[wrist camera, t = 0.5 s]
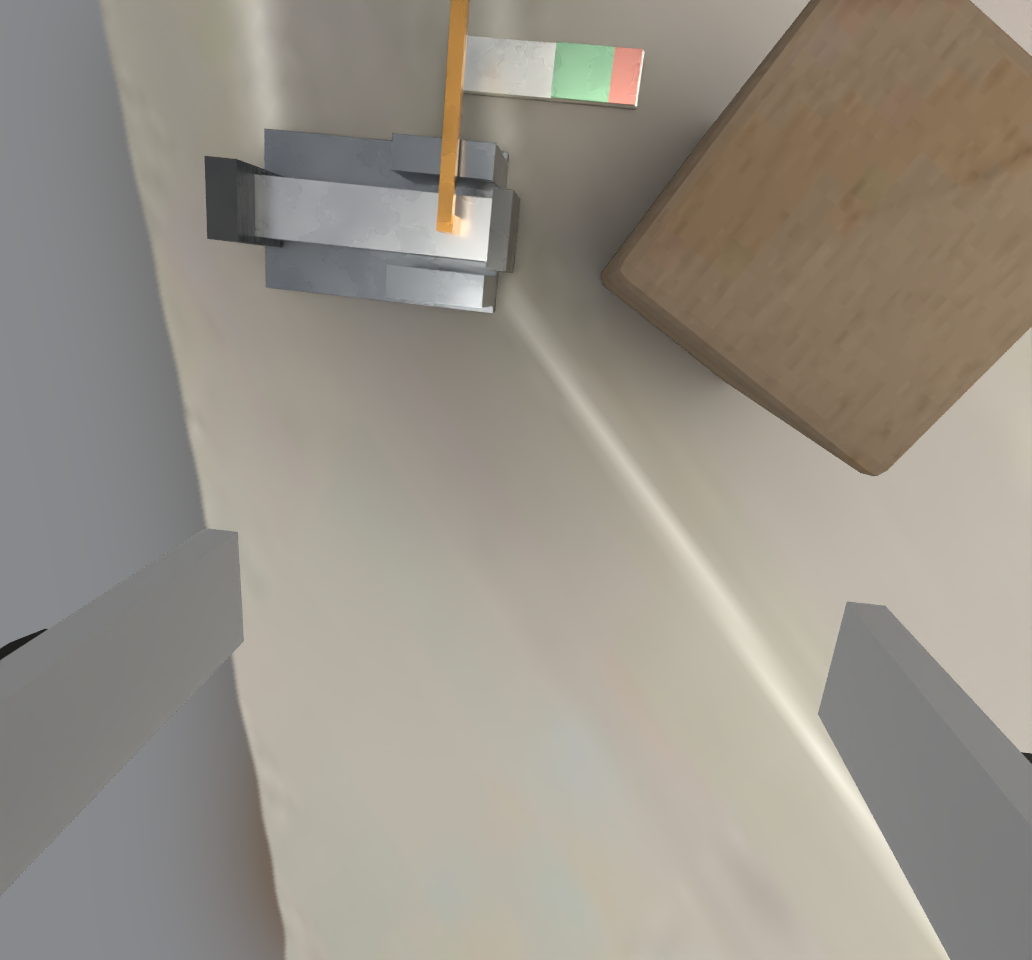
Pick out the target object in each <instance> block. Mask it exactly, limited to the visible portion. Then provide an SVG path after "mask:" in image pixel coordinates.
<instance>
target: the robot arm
mask: <svg viewBox="0 0 1032 960" xmlns="http://www.w3.org/2000/svg"><path fill="white" fill-rule="evenodd" d="M243 641H244V636H243V618H242V600H241V582H240V564H239V547H238V532H233V531H224V530H216V529H207V528H205V529H203V530H202V531H200V532H198V533H197V534H195V535H193V536H192V537H191V538H189V539H187V540H186V541H185V542H183V543H181V544H180V545H178V546H176V547H175V548H173V549H172V550H170V551H169V552H167V553H166V554H164V555H163V556H161V557H159V558H158V559H156V560H155V561H153V562H152V563H150V564H149V565H147V566H145V567H144V568H142V569H141V570H139V571H138V572H136V573H135V574H133V575H132V576H130V577H129V578H127V579H125V580H124V581H123V582H121V583H119V584H118V585H116V586H115V587H113V588H112V589H110V590H108V591H107V592H105V593H104V594H102V595H101V596H99V597H98V598H96V599H95V600H93V601H91V602H90V603H88V604H87V605H85V606H83V607H82V608H80V609H79V610H78V611H76V612H74V613H73V614H71V615H70V616H68V617H66V618H65V619H63V620H62V621H60V622H59V623H57V624H56V625H54V626H53V627H51V628H49V629H44V630H41V631H38V632H36V633H33V634H31V635H28V636H26V637H23V638H20V639H18V640H15V641H13V642H10V643H9V644H7V645H6V646H4V647H2V648H1V649H0V896H1V895H2V894H3V893H4V892H5V891H6V890H7V889H8V888H9V887H10V886H11V884H13V883H14V881H15V880H16V879H17V878H18V877H19V876H20V875H21V874H22V873H23V872H24V871H25V870H26V869H27V868H28V866H30V865H31V864H32V863H33V862H34V860H35V859H36V858H37V857H38V856H39V855H40V854H41V853H42V852H43V851H44V850H45V849H46V848H47V847H48V846H49V845H50V843H52V842H53V841H54V839H55V838H56V837H57V836H58V835H59V834H60V833H61V832H62V831H63V830H64V829H65V828H66V827H67V826H68V825H69V824H70V823H71V822H72V821H73V820H74V819H75V817H76V816H77V815H78V814H79V813H80V812H81V811H82V810H83V809H84V808H85V807H86V806H87V805H88V804H89V803H90V802H91V801H92V800H93V798H95V796H96V795H97V794H98V793H99V792H100V791H101V790H102V789H103V788H104V787H105V786H106V785H107V784H108V783H109V782H110V781H111V779H113V778H114V777H115V776H116V774H117V773H118V772H119V771H120V770H121V769H122V768H123V767H124V766H125V765H126V764H127V763H128V762H129V761H130V759H132V758H133V757H134V755H136V753H137V752H138V751H139V750H140V749H141V748H142V747H143V746H144V745H145V744H146V743H147V742H148V741H149V740H150V739H151V738H152V737H153V736H154V735H155V733H156V732H157V731H158V730H159V729H160V728H161V727H162V726H163V725H164V724H165V723H166V722H167V721H168V720H169V719H170V718H171V717H172V716H173V715H174V713H175V712H177V710H178V709H179V708H180V707H181V706H182V705H183V704H184V703H185V702H186V701H187V700H188V699H189V698H190V697H191V696H192V695H193V694H194V693H195V691H197V689H198V688H199V687H200V686H201V685H202V684H203V683H204V682H205V681H206V680H207V679H208V678H209V677H210V676H211V675H212V674H213V673H214V672H215V671H216V670H217V669H218V667H219V666H220V665H221V664H222V663H223V662H224V661H225V660H226V659H227V658H228V657H229V656H230V655H231V654H232V653H233V652H234V651H235V650H236V649H237V648H238V646H239V645H240V644H241V643H242V642H243ZM818 715H819V717H820V719H821V720H822V722H823V724H824V726H825V728H826V730H827V732H828V733H829V735H830V737H831V739H832V741H833V743H834V745H835V746H836V748H837V750H838V752H839V754H840V756H841V757H842V759H843V761H844V763H845V765H846V767H847V769H848V770H849V772H850V774H851V776H852V778H853V780H854V782H855V783H856V785H857V787H858V789H859V791H860V793H861V795H862V796H863V798H864V800H865V802H866V804H867V806H868V808H869V809H870V811H871V813H872V815H873V817H874V819H875V821H876V822H877V824H878V826H879V828H880V830H881V832H882V834H883V835H884V837H885V839H886V841H887V843H888V845H889V847H890V848H891V850H892V852H893V854H894V856H895V858H896V860H897V861H898V863H899V865H900V867H901V869H902V871H903V873H904V874H905V876H906V878H907V880H908V882H909V884H910V886H911V887H912V889H913V891H914V893H915V895H916V897H917V899H918V900H919V902H920V904H921V906H922V908H923V910H924V912H925V913H926V915H927V917H928V919H929V921H930V923H931V925H932V926H933V928H934V930H935V932H936V934H937V936H938V938H939V939H940V941H941V943H942V945H943V947H944V949H945V951H946V952H947V954H948V956H949V958H950V960H1032V754H1031V753H1023V752H1020V751H1019V750H1018V749H1017V748H1016V747H1015V745H1014V744H1013V743H1012V742H1011V741H1010V740H1009V739H1008V738H1007V737H1006V736H1005V735H1004V734H1003V733H1002V731H1001V730H1000V729H999V728H998V727H997V726H996V725H995V724H994V723H993V722H992V721H991V720H990V718H989V717H988V716H987V715H986V714H985V713H984V712H983V711H982V710H981V709H980V708H979V707H978V706H977V704H976V703H975V702H974V701H973V700H972V699H971V698H970V697H969V696H968V695H967V694H966V693H965V692H964V690H963V689H962V688H961V687H960V686H959V685H958V684H957V683H956V682H955V681H954V680H953V679H952V677H951V676H950V675H949V674H948V673H947V672H946V671H945V670H944V669H943V668H942V667H941V666H940V665H939V663H938V662H937V661H936V660H935V659H934V658H933V657H932V656H931V655H930V654H929V653H928V652H927V650H926V649H925V648H924V647H923V646H922V645H921V644H920V643H919V642H918V641H917V640H916V639H915V638H914V636H913V635H912V634H911V633H910V632H909V631H908V630H907V629H906V628H905V627H904V626H903V625H902V624H901V622H900V621H899V620H898V619H897V618H896V617H895V616H894V615H893V614H892V613H891V612H890V611H889V609H888V608H887V607H886V606H881V605H873V604H864V603H855V602H847V603H846V607H845V611H844V615H843V619H842V623H841V627H840V630H839V634H838V638H837V642H836V646H835V650H834V654H833V658H832V662H831V666H830V669H829V673H828V677H827V681H826V685H825V689H824V693H823V697H822V701H821V705H820V708H819V712H818Z"/></svg>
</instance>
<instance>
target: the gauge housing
mask: <svg viewBox="0 0 1032 960" xmlns="http://www.w3.org/2000/svg"><path fill="white" fill-rule="evenodd" d="M643 58H644V51H643V49H634V48H622V47H610V46H599V45H587V44H575V43H564V42H556V43H547V42H536V41H524V40H512V39H501V38H489V37H477V36H467V46H466V60H465V74H464V88H463V93H467V94H478V95H489V96H500V97H511V98H522V99H533V100H544V101H555V102H565V103H576V104H587V105H598V106H609V107H620V108H631V109H636V107H637V100H638V93H639V86H640V79H641V72H642V65H643ZM441 150H442V138H437V137H427V136H416V135H406V134H395V133H393V134H392V141H386V140H375V139H365V138H355V137H345V136H334V135H324V134H314V133H304V132H293V131H283V130H273V129H265V170H267V171H270V172H273V173H275V174H278V175H281V177H286V178H295V179H305V180H315V181H325V182H334V183H344V184H354V185H364V186H374V187H383V188H393V189H403V190H413V191H422V192H432V193H439V181H440V166H441ZM508 159H509V155H508V153H507V152H501V151H500V149H499V148H498V146H497V144H496V143H489V142H478V141H468V140H460V144H459V158H458V172H457V186H456V195H462V196H471V197H481V198H491V199H492V195H493V188H499V189H506V181H507V170H508ZM486 264H487V263H486V262H477V261H468V260H459V259H450V258H441V257H431V256H422V255H413V254H404V253H395V252H386V251H376V250H367V249H358V248H349V247H340V246H330V245H321V244H312V243H303V242H294V241H285V240H281V248H280V247H271V246H266V287H268V288H277V289H286V290H295V291H303V292H312V293H321V294H330V295H338V296H347V297H356V298H365V299H374V300H382V301H391V302H400V303H409V304H417V305H426V306H435V307H444V308H452V309H461V310H470V311H479V312H487V313H494V310H495V300H496V289H497V278H498V271H492V270H487V269H486Z"/></svg>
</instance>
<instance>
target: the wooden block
mask: <svg viewBox="0 0 1032 960" xmlns="http://www.w3.org/2000/svg"><path fill="white" fill-rule="evenodd" d="M600 280H601V281H602V283H603V285H604V286H605V287H606V288H608V289H609V290H610V291H611V292H613V293H614V294H615V295H617V296H618V297H619V298H620V299H622V300H623V301H624V302H625V303H627V304H628V305H629V306H630V307H632V308H633V309H634V310H635V311H637V312H638V313H639V314H640V315H642V316H643V317H644V318H646V319H647V320H648V321H649V322H651V323H652V324H653V325H654V326H656V327H657V328H658V329H659V330H661V331H662V332H663V333H664V334H666V335H667V336H668V337H669V338H671V339H672V340H673V341H675V342H676V343H677V344H678V345H680V346H681V347H682V348H683V349H685V350H686V351H687V352H688V353H690V354H691V355H692V356H693V357H695V358H696V359H697V360H698V361H700V362H701V363H702V364H704V365H705V366H706V367H707V368H709V369H710V370H711V371H712V372H714V373H715V374H716V375H717V376H719V377H720V378H721V379H722V380H724V381H725V382H726V383H728V384H729V385H731V386H732V387H734V388H735V389H737V390H738V391H740V392H741V393H743V394H744V395H746V396H747V397H749V398H750V399H751V400H753V401H754V402H756V403H757V404H759V405H760V406H762V407H763V408H765V409H766V410H768V411H769V412H771V413H772V414H774V415H775V416H777V417H778V418H780V419H781V420H783V421H784V422H786V423H787V424H789V425H790V426H792V427H793V428H795V429H796V430H798V431H799V432H801V433H802V434H803V435H805V436H806V437H808V438H809V439H811V440H812V441H814V442H815V443H817V444H818V445H820V446H821V447H823V448H824V449H826V450H827V451H829V452H830V453H832V454H833V455H835V456H836V457H838V458H839V459H841V460H842V461H844V462H845V463H847V464H848V465H850V466H851V467H853V468H854V469H855V470H857V471H858V472H860V473H863V474H867V475H871V476H878V475H880V474H881V473H883V472H885V471H887V470H888V469H889V468H890V467H891V466H892V465H893V464H894V463H895V462H896V461H897V460H898V459H899V458H900V457H901V456H902V455H903V454H904V453H905V452H906V451H907V450H908V449H909V448H910V447H911V446H912V445H913V444H914V443H915V442H916V441H917V440H918V439H919V438H920V437H921V436H922V435H923V434H924V433H925V432H926V431H927V430H928V429H929V428H930V427H931V426H932V425H933V424H934V423H935V422H936V421H937V420H938V419H939V418H940V417H941V416H942V415H943V414H944V413H945V412H946V411H947V410H948V409H949V408H950V407H951V406H952V405H953V404H954V403H955V402H956V401H957V400H958V399H959V398H960V397H961V396H962V395H963V394H964V393H965V392H966V391H967V390H968V389H969V388H970V387H971V386H972V385H973V384H974V383H975V382H976V381H977V380H978V379H979V378H980V377H981V376H982V375H983V374H984V373H985V372H986V371H987V370H988V369H989V368H990V367H991V366H992V365H993V364H994V363H995V362H996V361H997V360H998V359H999V358H1000V357H1001V356H1002V355H1003V354H1004V353H1005V352H1006V351H1007V350H1008V349H1009V348H1010V347H1011V346H1012V345H1013V344H1014V343H1015V342H1016V341H1017V340H1018V339H1019V338H1020V337H1021V336H1022V335H1023V334H1024V333H1025V332H1026V331H1027V330H1028V329H1029V328H1030V327H1031V326H1032V56H1031V55H1030V54H1028V53H1027V52H1026V51H1025V50H1024V49H1023V48H1022V47H1021V46H1020V45H1019V44H1017V43H1016V42H1015V41H1014V40H1013V39H1012V38H1011V37H1010V36H1009V35H1007V34H1006V33H1005V32H1004V31H1003V30H1002V29H1001V28H1000V27H999V26H998V25H996V24H995V23H994V22H993V21H992V20H991V19H990V18H989V17H988V16H987V15H985V14H984V13H983V12H982V11H981V10H980V9H979V8H978V7H977V6H975V5H974V4H973V3H972V2H971V1H970V0H811V1H810V2H809V3H808V4H807V6H806V7H805V8H804V9H803V11H802V12H801V13H800V15H799V16H798V17H797V18H796V20H795V21H794V22H793V23H792V25H791V26H790V27H789V29H788V30H787V31H786V32H785V34H784V35H783V36H782V37H781V39H780V40H779V41H778V42H777V44H776V45H775V46H774V48H773V49H772V50H771V51H770V53H769V54H768V55H767V56H766V58H765V59H764V60H763V61H762V63H761V64H760V65H759V67H758V68H757V69H756V70H755V72H754V73H753V74H752V75H751V77H750V78H749V79H748V80H747V82H746V83H745V84H744V86H743V87H742V88H741V89H740V91H739V92H738V93H737V94H736V96H735V97H734V98H733V99H732V101H731V102H730V103H729V105H728V106H727V107H726V108H725V110H724V111H723V112H722V113H721V115H720V116H719V117H718V119H717V120H716V121H715V122H714V124H713V125H712V126H711V127H710V129H709V130H708V131H707V133H706V134H705V135H704V137H703V138H702V139H701V141H700V142H699V143H698V145H697V146H696V147H695V149H694V150H693V151H692V153H691V154H690V155H689V157H688V158H687V160H686V161H685V162H684V164H683V165H682V166H681V168H680V169H679V170H678V172H677V173H676V174H675V176H674V177H673V178H672V180H671V181H670V182H669V184H668V185H667V186H666V188H665V189H664V190H663V192H662V193H661V194H660V196H659V197H658V198H657V200H656V201H655V202H654V204H653V205H652V206H651V208H650V209H649V210H648V212H647V213H646V214H645V216H644V217H643V218H642V220H641V221H640V222H639V224H638V225H637V226H636V228H635V229H634V230H633V232H632V233H631V234H630V236H629V237H628V238H627V240H626V241H625V242H624V244H623V245H622V246H621V248H620V249H619V250H618V252H617V253H616V254H615V256H614V257H613V258H612V260H611V261H610V262H609V264H608V265H607V266H606V268H605V269H604V270H603V272H602V274H601V278H600Z"/></svg>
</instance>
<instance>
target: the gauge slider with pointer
mask: <svg viewBox="0 0 1032 960" xmlns="http://www.w3.org/2000/svg"><path fill="white" fill-rule="evenodd" d="M469 4H470V0H451V11H450V26H449V42H448V57H447V73H446V88H445V104H444V119H443V135H442V150H441V166H440V181H439V193H432V192H422V191H413V190H403V189H393V188H383V187H374V186H364V185H354V184H344V183H334V182H325V181H315V180H305V179H295V178H286V177H281V175H278V174H275V173H273V172H270V171H267V170H264V169H262V168H259V167H256V166H253V165H251V164H248V163H245V162H243V161H240V160H237V159H229V158H220V157H210V156H205V179H206V209H207V239H214V240H222V241H230V242H238V243H245V244H253V245H262V246H271V247H280V248H281V240H285V241H294V242H303V243H312V244H321V245H330V246H340V247H349V248H358V249H367V250H376V251H386V252H395V253H404V254H413V255H422V256H431V257H441V258H450V259H459V260H468V261H477V262H486V263H487V264H486V269H487V270H492V271H499V272H508V273H513V269H514V259H515V249H516V239H517V229H518V218H519V208H520V198H519V197H518V196H517V194H516V193H515V191H514V190H509V189H499V188H493V195H492V199H491V198H481V197H471V196H462V195H456V186H457V172H458V158H459V144H460V130H461V116H462V102H463V88H464V74H465V60H466V46H467V32H468V18H469Z"/></svg>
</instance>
